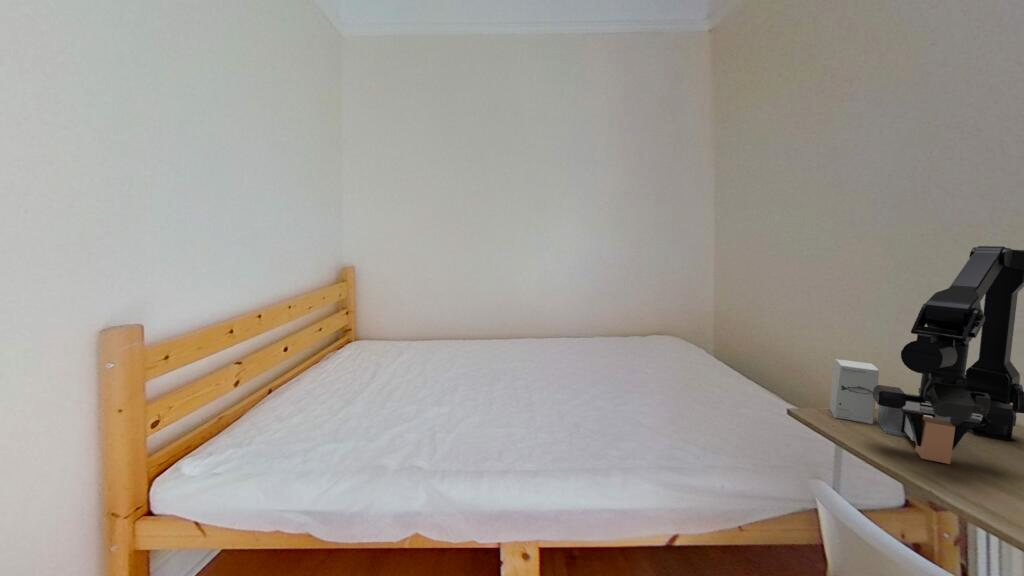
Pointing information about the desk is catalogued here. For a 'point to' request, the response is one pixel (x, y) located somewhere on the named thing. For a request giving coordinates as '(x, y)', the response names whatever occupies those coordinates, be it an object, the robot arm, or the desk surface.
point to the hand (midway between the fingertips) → (933, 448)
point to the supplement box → (853, 390)
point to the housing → (899, 419)
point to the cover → (934, 439)
